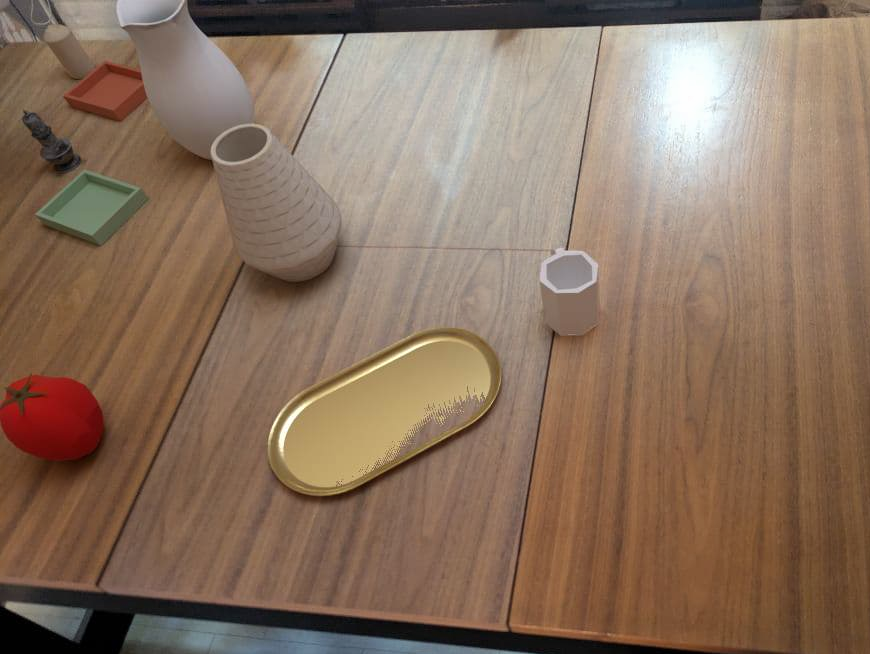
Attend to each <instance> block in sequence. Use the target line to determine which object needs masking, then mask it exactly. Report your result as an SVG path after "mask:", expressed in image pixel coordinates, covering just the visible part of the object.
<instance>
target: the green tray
mask: <svg viewBox="0 0 870 654" xmlns="http://www.w3.org/2000/svg"><path fill="white" fill-rule="evenodd" d="M148 200H149V196H148V195H147V194H146V192H145V191H144V190H143V189H142V187H141V186H140V187H139V186H137V185H135V184H134V185H133V184H130V183H127V182H124V181H121V180H118V179H116V178H112V177H110V176H106V175H103V174H100V173H96V172H94V171H91V170H88V169H82V170H81V172H79V173H78V174H77V175H76V176H75V177H73V179H72V180H71V181H69V183H68V184H66V185H65V186H64V187H63V188H62V189H61V190H60V191H58V192H57V194H55V195H54V196H53V197H52V198H51V199H49V201H47V202H46V204H45V205H43V206H42V207H41V208H40V209H39V210H38V211H37V212H36V213H34V216H35V217H36V218H37V219H38V220H39V221H40V222H41V223H42V224H43V225H44V226H46V227H49V228H51V229H54V230H57V231H60V232H62V233H65V234H67V235H70V236H73V237H76V238H78V239H81V240H84V241H87V242H89V243H91V244H94V245H97V246H100V247H102V246H103V245H104V244H105V243H106V242H107V241H108V240H109V239H110V238H111V237H112V236H113V235H114V234H115V233H116V232H117V231H118V230H119V229H120V228H121V227H122V226H123V225H125V224H126V222H127V221H128V220H129V219H130V218H131V217H132V216H133V215H135V214H136V212H137V211H138V210H139V209H141V207H143V205H145V203H146V202H148Z"/></svg>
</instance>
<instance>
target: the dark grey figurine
mask: <svg viewBox="0 0 870 654" xmlns="http://www.w3.org/2000/svg"><path fill="white" fill-rule="evenodd" d="M22 112H23V116H22V117H21V121H22V123H23V125H24V126H25V127H26V128H27V129H28V130H29V132H31V137H32V138H33V139H35V140H37V141H38V143H39V144H40V146H41V148H40V150H39V156H40V157H41V158H42V159H43V160H45V161H47V162H48V163H50V164H53V170H54V171H55V172H56V173H58V174H66V173H69V172H71V171H73V170H76V168H78V167H79V165H80V164H81V162H82V158H81V156H80V155H79V154H77V153H74V149H73V146H72V142H71V141H70V140H69V139H67V138H65V137H64V138H62V137H61V138H58V137H57V135H55V133H54V132H53V131H52V127H51V126H50V125H47V124H46V123H45V122H44V120H43V119H42V118H41V116H39V114H38V113H35V112H31V111H30V112H28V110H25V109H23V110H22Z"/></svg>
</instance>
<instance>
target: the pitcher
mask: <svg viewBox="0 0 870 654" xmlns="http://www.w3.org/2000/svg"><path fill="white" fill-rule="evenodd" d="M115 12H116V16H117V20H118V23H119V26H120V28H121V29H122V30H124V31H125V32H126V33H127V34H128V36H129V38H130V39H131V41H132V43H133V46H134V48H135V52H136V54H137V59H138V63H139V69H140V70H141V74H142V79H143V84H144V88H145V91H146V95H147V98H146V99H147V100H148V104H149V105H150V108H151V109H152V112H153V114H154V116H155V117H156V120H158V122H159V123H160V125H161V126H162V127H163V129H164V130H165V131H166V133H167V134H168V135H169V136H170V137H171V138H172V139H173V140H174V141H175V142H177V144H179V145H180V146H181V147H184V148H185V149H186V150H188V151H189V152H190V153H192V154H194V155H196V156H198V157H201V158H203V159H206V160H210V161H212V157H211V146H212V144H213V142H214V141H215V140H216V138H217V137H218V136H220V135H221V134H222V133H223V132H225V131H226V130H228V129H230V128H233V127H235V126H238V125H243V124H256V112H255V106H254V102H253V98H252V95H251V91H250V89H249V87H248V85H247V83H246V81H245V79H244V78H243V76H242V74H241V72H240V71H239V70H238V68H237V67H236V65H235V63H233V62H232V60H231V59H230V58H229V57H228V56H227V54H226V53H224V52H223V50H222V49H220V47H218V46H217V45H216V44H215V43H214V42H213V41H212V40H211V39H210V38H209V37H208V36H207V35H206V34H205V33H204V32H203V31H201V29H200V28H199V27H198V26H197V25H196V23H195V22H194V20H193V19H192V17H191V15H190V12H189V8H188V0H117V2H116V5H115Z"/></svg>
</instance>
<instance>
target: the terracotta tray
mask: <svg viewBox="0 0 870 654" xmlns="http://www.w3.org/2000/svg"><path fill="white" fill-rule="evenodd" d="M62 97H63V98H64V100H65V101H66V103H67V104H68V105H69V107H71V108H74V109H78V110H79V111H84V112H87V113H91V114H94V115H98V116H100V117H104V118H107V119H111V120H113V121H118V122H122V121H123V120H125V119H126V117H128V116H129V115H130V114H131V113H132V112H134V110H136V108H138V107H139V106H140V105H141V104H143V102H144V101H146V100H147V99H148V98H147V95H146V91H145V88H144V84H143V79H142V74H141V69H140V68H136V67H132V66H128V65H125V64H124V65H123V64H120V63H116V62H112V61H109V60H103V61H102V62H101V63H100V64H99V65H98V66H96V67H95V69H94V70H93V71H92V72H91V73H89V74H88V75H87V76H86V77H85V78H82V79H80V81H79V82H77V83H76V84H75V85H74V86H72V87H71V88H70V89H69V90H68V91H66V92H65V93H64V94H62Z"/></svg>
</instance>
